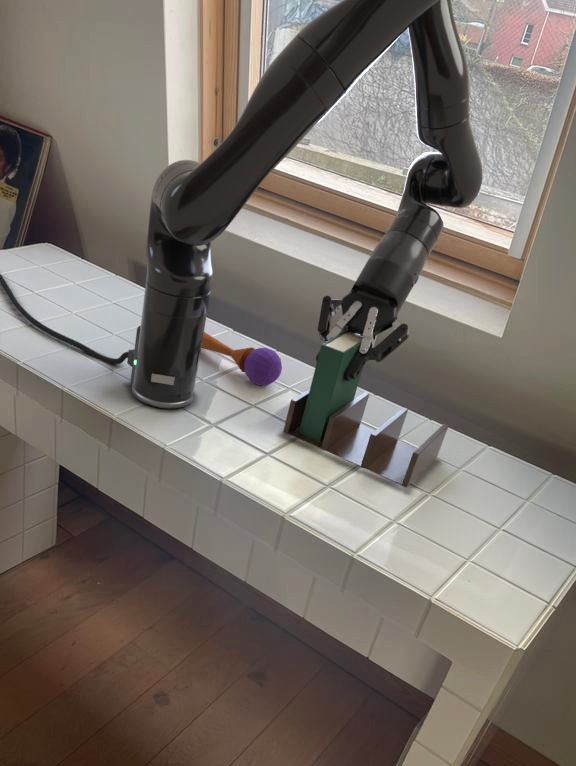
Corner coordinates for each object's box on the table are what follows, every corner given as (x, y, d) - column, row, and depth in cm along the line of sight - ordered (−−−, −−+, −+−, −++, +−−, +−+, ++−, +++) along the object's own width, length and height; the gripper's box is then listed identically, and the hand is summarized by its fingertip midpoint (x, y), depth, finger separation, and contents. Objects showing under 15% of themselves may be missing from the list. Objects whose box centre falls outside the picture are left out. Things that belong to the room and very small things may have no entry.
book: (298, 433, 120) (321, 344, 112) (327, 412, 127) (350, 327, 119) (319, 442, 119) (344, 353, 111) (347, 421, 126) (372, 336, 118)
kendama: (205, 317, 143) (293, 354, 132) (197, 351, 145) (283, 389, 134) (181, 316, 139) (270, 354, 127) (173, 351, 141) (260, 391, 130)
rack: (282, 436, 120) (290, 399, 117) (318, 410, 129) (328, 376, 126) (405, 491, 113) (418, 454, 109) (435, 461, 121) (448, 425, 118)
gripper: (343, 243, 117) (284, 343, 115) (436, 273, 112) (376, 379, 110) (349, 272, 124) (294, 367, 122) (437, 302, 119) (380, 402, 117)
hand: (333, 372), depth 116 cm, fingers open, 3 cm apart
